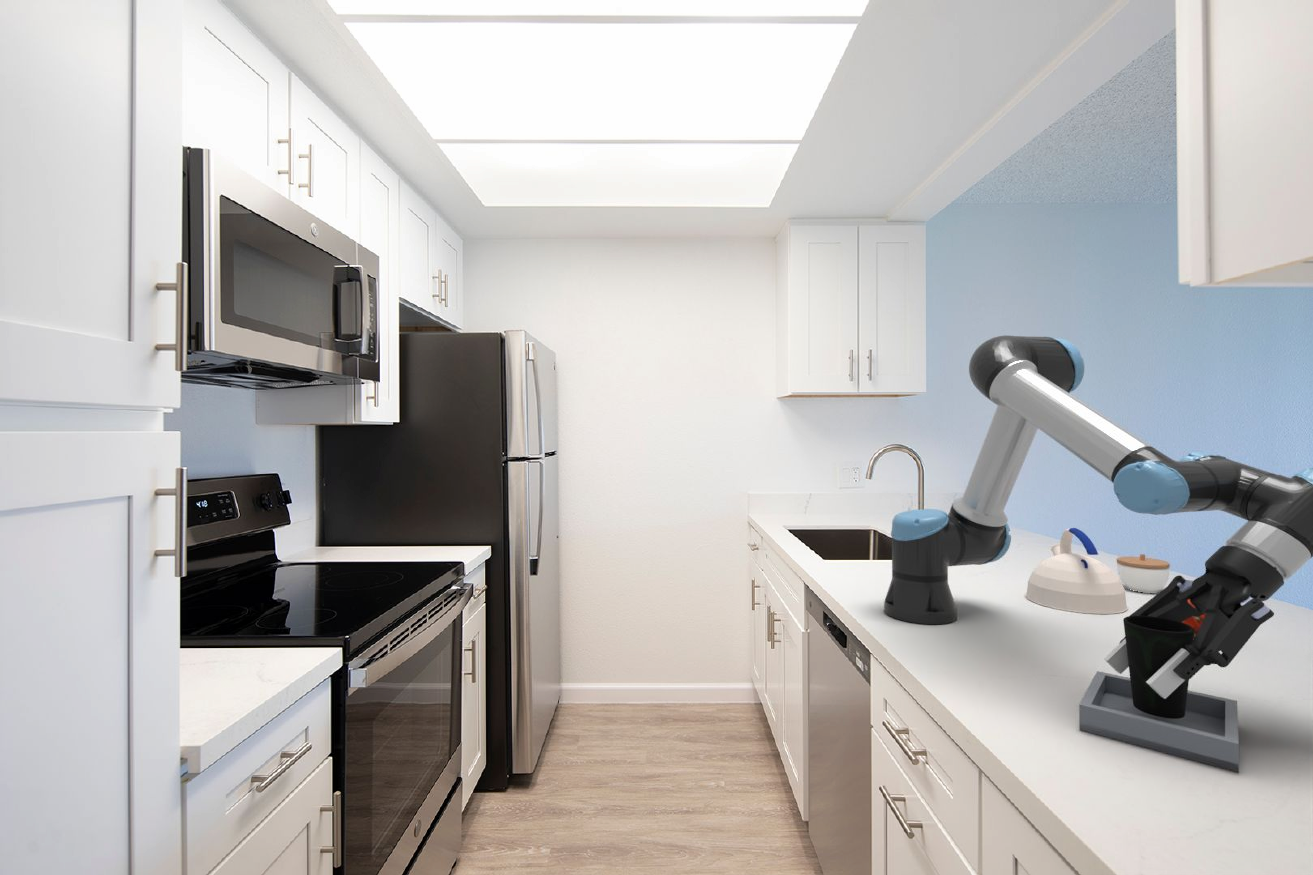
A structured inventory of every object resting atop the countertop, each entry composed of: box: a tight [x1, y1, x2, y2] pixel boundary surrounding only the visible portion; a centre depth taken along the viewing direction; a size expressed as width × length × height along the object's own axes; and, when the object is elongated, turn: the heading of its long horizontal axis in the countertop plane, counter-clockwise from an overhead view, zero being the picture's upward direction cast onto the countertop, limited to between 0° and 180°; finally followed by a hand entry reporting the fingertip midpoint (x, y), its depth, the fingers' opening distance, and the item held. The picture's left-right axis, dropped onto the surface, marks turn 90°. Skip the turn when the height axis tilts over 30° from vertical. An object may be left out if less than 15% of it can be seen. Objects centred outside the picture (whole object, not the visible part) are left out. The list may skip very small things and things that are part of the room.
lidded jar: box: [1116, 553, 1171, 594], centre depth 158 cm, size 11×11×9 cm
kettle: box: [1025, 527, 1129, 615], centre depth 147 cm, size 20×21×18 cm
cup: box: [1123, 615, 1195, 719], centre depth 85 cm, size 8×8×12 cm
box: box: [1078, 670, 1240, 773], centre depth 85 cm, size 16×16×4 cm
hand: (1132, 677), depth 85 cm, fingers closed on cup, 8 cm apart
